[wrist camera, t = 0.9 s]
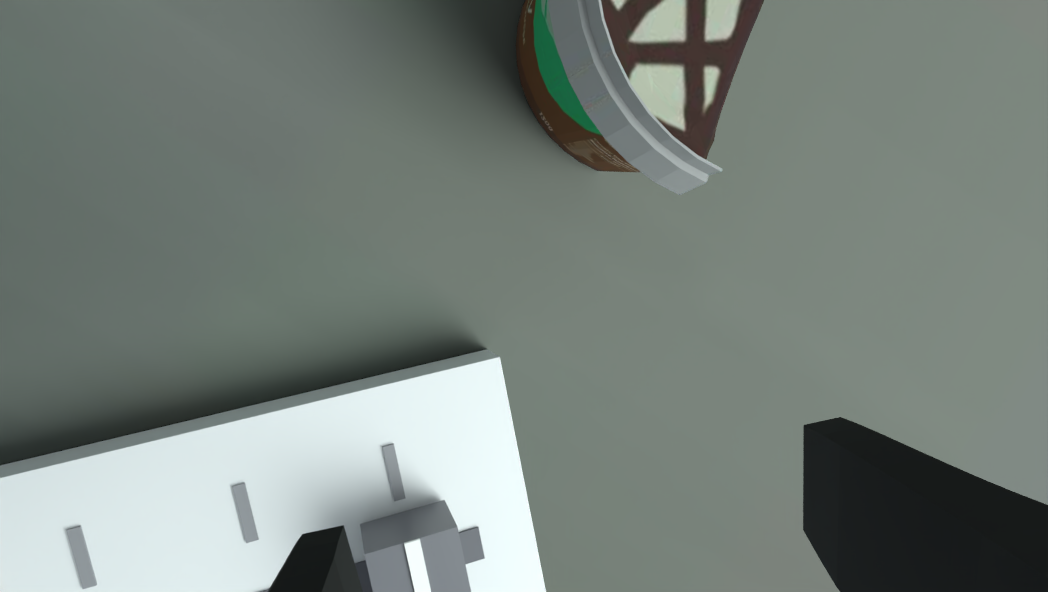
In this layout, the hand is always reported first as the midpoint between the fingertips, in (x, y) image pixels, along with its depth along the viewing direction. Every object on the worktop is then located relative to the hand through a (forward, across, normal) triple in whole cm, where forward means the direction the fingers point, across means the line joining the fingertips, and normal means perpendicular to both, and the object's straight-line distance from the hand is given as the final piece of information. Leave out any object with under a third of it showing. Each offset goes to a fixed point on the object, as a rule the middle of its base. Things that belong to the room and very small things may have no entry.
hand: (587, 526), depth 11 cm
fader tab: (+12, +4, +10) cm, 17 cm away
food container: (+21, -5, -6) cm, 22 cm away
